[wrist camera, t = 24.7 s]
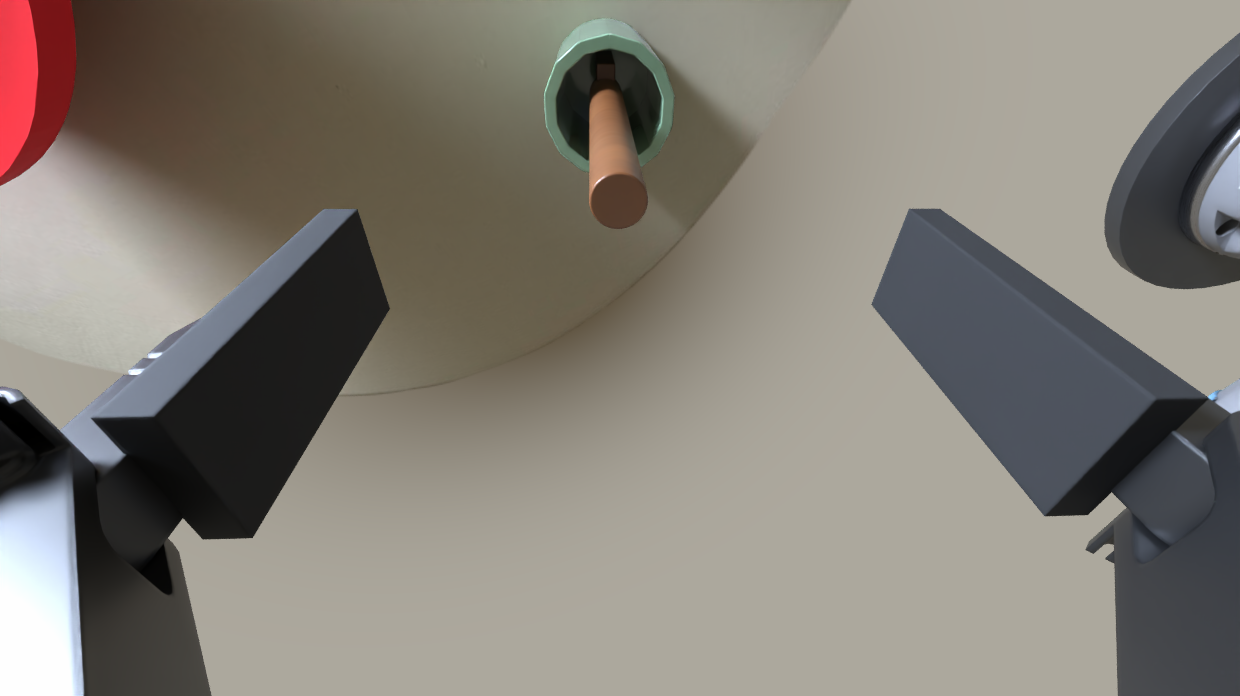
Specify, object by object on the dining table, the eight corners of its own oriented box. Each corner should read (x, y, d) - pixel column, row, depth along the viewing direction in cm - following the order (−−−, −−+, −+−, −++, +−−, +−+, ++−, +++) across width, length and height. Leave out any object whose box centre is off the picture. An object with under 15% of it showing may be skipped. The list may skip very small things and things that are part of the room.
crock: (658, 17, 29) (679, 34, 22) (652, 132, 33) (668, 177, 26) (551, 15, 29) (539, 32, 22) (558, 132, 33) (549, 177, 26)
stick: (618, 50, 30) (651, 148, 14) (617, 107, 32) (645, 249, 16) (588, 50, 30) (587, 147, 14) (589, 107, 32) (590, 250, 16)
